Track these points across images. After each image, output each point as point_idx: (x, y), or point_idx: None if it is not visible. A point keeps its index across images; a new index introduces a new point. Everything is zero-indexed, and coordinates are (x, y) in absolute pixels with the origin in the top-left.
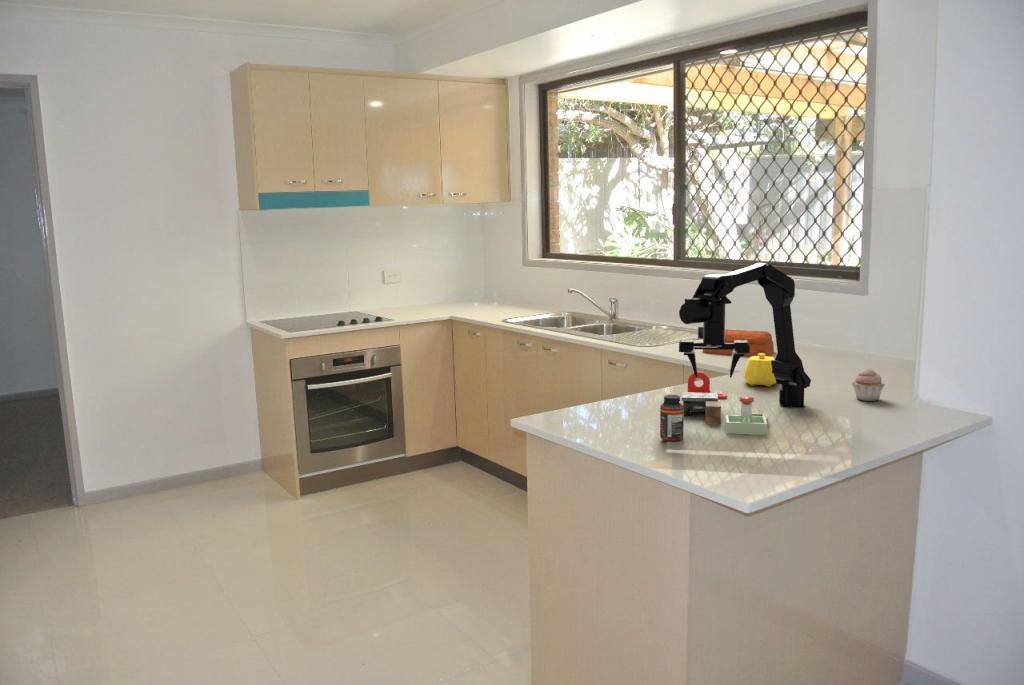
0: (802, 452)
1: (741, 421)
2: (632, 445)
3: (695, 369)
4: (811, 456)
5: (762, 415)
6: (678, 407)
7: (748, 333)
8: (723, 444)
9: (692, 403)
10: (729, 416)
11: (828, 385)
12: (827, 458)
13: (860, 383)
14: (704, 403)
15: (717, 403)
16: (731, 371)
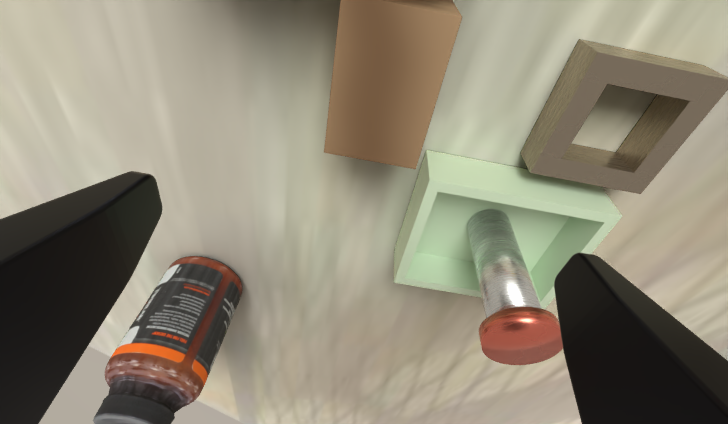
0: (531, 380)
1: (471, 247)
2: (115, 311)
3: (86, 321)
4: (533, 396)
5: (681, 106)
6: (183, 406)
7: None
8: (357, 326)
9: None
10: (444, 189)
11: None
12: (559, 405)
13: None
14: None
15: (418, 81)
16: (582, 376)
